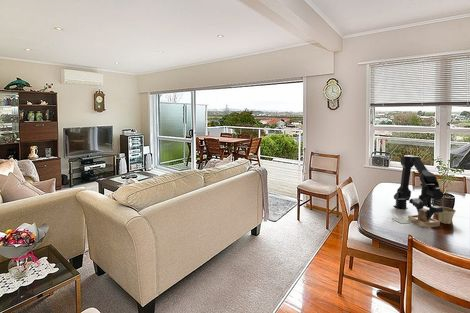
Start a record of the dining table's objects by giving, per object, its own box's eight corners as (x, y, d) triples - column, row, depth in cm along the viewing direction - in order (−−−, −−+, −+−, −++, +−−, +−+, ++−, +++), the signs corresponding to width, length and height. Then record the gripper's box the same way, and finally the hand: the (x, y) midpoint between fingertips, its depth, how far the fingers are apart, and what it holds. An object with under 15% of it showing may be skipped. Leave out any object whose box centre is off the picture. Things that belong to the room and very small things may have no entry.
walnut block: (417, 219, 169) (418, 208, 168) (423, 218, 170) (424, 208, 169) (423, 221, 165) (425, 211, 164) (429, 221, 166) (431, 210, 165)
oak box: (408, 220, 173) (408, 215, 172) (421, 218, 175) (422, 214, 174) (424, 228, 161) (425, 223, 161) (439, 226, 163) (439, 221, 163)
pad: (392, 219, 175) (392, 218, 175) (402, 217, 176) (402, 217, 176) (402, 224, 167) (402, 223, 167) (412, 222, 169) (412, 222, 169)
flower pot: (435, 217, 176) (437, 205, 174) (454, 221, 170) (455, 208, 168) (435, 222, 168) (436, 209, 167) (454, 226, 163) (456, 213, 161)
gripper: (403, 191, 172) (401, 213, 175) (429, 200, 154) (426, 225, 157) (417, 189, 174) (415, 212, 177) (445, 198, 156) (442, 223, 159)
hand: (423, 217), depth 167 cm, fingers open, 6 cm apart
